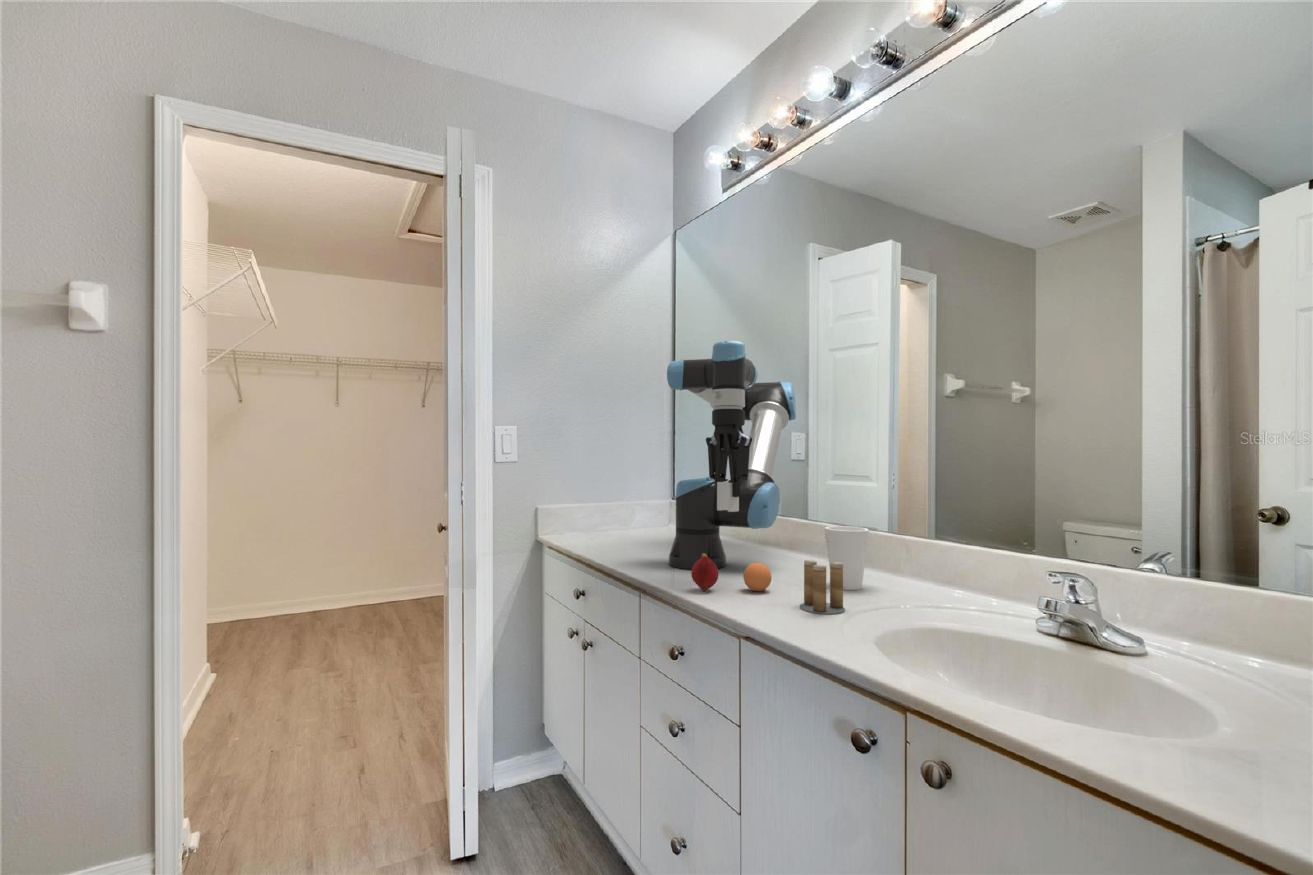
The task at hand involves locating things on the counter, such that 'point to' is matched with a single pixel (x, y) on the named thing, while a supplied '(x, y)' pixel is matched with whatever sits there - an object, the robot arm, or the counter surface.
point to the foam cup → (848, 552)
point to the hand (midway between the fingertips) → (727, 510)
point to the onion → (704, 573)
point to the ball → (757, 576)
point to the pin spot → (828, 611)
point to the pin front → (808, 581)
